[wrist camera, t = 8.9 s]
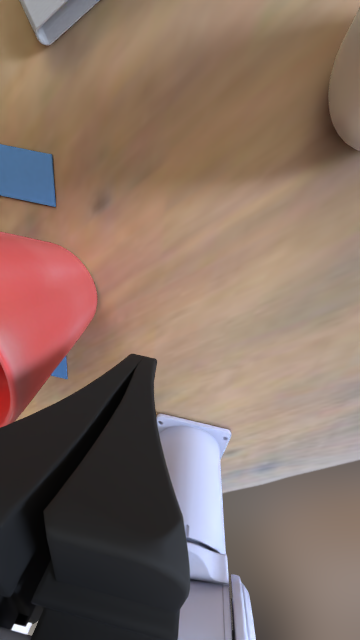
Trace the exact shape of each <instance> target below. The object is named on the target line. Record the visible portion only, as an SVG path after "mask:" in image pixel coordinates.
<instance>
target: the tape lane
mask: <svg viewBox="0 0 360 640" xmlns="http://www.w3.org/2000/svg"><path fill="white" fill-rule="evenodd" d="M0 195H1V196H6V197H10V198H15V199H20V200H25V201H29V202H34V203H39V204H44V205H49V206H53V207H56V202H55V187H54V172H53V157H52V155H51V154H46V153H41V152H36V151H31V150H26V149H21V148H16V147H11V146H6V145H1V144H0ZM51 376H56V377H60V378H64V379H68V378H67V363H66V356H65V357H64V359H63V360H62V361H61V362H60V364H59V365H58V366H57V368H56V369H55V370H54V371H53V373H52V374H51Z"/></svg>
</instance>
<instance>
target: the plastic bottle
mask: <svg viewBox="0 0 360 640" xmlns="http://www.w3.org/2000/svg"><path fill="white" fill-rule="evenodd" d="M328 101H329V112H330V116H331V120H332V123H333V125H334V127H335V129H336V131H337V133H338V135H339V136H340V137H341V138H342V139H343V141H344V142H345V143H346V144H348V145H349V146H351V147H352V148H354V149H355V150H358V151H360V8H359V10H358V12H357V13H356V15H355V17H354V19H353V21H352V23H351V25H350V27H349V29H348V31H347V33H346V35H345V37H344V39H343V41H342V43H341V46H340V48H339V50H338V53H337V55H336V57H335V61H334V65H333V68H332V72H331V75H330V83H329V91H328Z"/></svg>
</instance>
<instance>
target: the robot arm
mask: <svg viewBox="0 0 360 640" xmlns="http://www.w3.org/2000/svg"><path fill="white" fill-rule="evenodd" d="M156 366H157V360H156V359H154V358H149V357H145V356H141V355H136V354H130V355H129V356H128V357H126V358H125V359H124V360H123V361H121V362H120V363H119V364H117V365H116V366H115V367H113V368H112V369H111V370H109V371H108V372H106V373H105V374H104V375H102V376H101V377H99V378H98V379H96V380H95V381H93V382H92V383H90V384H88V385H87V386H85V387H84V388H82V389H80V390H79V391H77V392H75V393H74V394H72V395H70V396H68V397H66V398H65V399H63V400H61V401H59V402H57V403H55V404H53V405H51V406H49V407H47V408H45V409H42V410H40V411H38V412H36V413H34V414H32V415H30V416H27V417H25V418H23V419H20V420H18V421H16V422H13V423H11V424H8V425H6V426H3V427H1V428H0V640H256V639H255V631H254V623H253V616H252V609H251V604H250V597H249V593H248V591H247V589H246V588H245V586H244V585H243V584H242V583H241V579H240V577H239V576H238V575H233V574H232V575H231V584H232V614H233V630H232V623H231V608H230V594H229V578H228V563H227V555H226V550H225V534H224V519H223V518H224V517H223V501H222V485H221V468H220V460H221V457H222V455H223V453H224V451H225V449H226V446H227V444H228V442H229V440H230V438H231V431H230V430H228V429H224V428H220V427H216V426H212V425H207V424H203V423H199V422H195V421H191V420H187V419H182V418H178V417H174V416H170V415H166V414H158V415H157V417H156V412H155V402H154V378H155V372H156ZM38 620H39V621H38ZM37 621H38V623H37V626H36V628H35V630H34V633H33V635H32V636H30V635H27V634H23V633H20V632H16V631H13V630H11V629H12V627H13V625H14V624H17V625H20V626H24V627H26V625H27V624H28V622H29V623H33V624H34V623H36V622H37Z"/></svg>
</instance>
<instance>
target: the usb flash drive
mask: <svg viewBox="0 0 360 640" xmlns="http://www.w3.org/2000/svg"><path fill="white" fill-rule="evenodd" d="M19 1H20V3H21V5H22V7H23V9H24V11H25V13H26V16H27V18H28V20H29V22H30V24H31V26H32V28H33V30H34V33H35V35H36V37H37V39H38V40H39V42H40V43H42V44H43V45H47V46H48V45H51V44H52V43H53V42H54V41H55V40H56V39H58V38H59V37H60V36H61V35H62V34H63V33H64V32H65V31H66V30H68V29H69V28H70V27H71V26H72V25H73V24H74V23H75V22H76V21H78V20H79V19H80V18H81V17H82V16H83V15H84V14H85V13H86V12H88V11H89V10H90V9H91V8H92V7H93V6H94V5H95V4H96V3H98V2H99V1H100V0H19Z"/></svg>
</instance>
